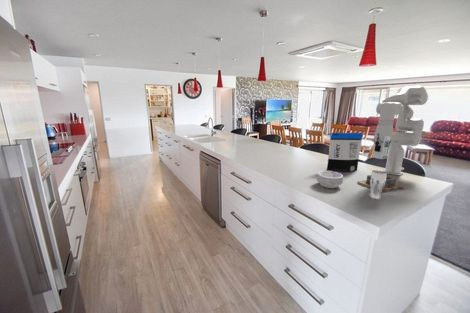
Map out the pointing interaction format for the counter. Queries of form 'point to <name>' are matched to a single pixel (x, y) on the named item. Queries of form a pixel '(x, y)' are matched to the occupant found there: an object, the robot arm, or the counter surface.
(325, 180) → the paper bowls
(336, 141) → the protein powder
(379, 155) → the syrup box
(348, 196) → the counter surface
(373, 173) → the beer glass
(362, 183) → the holder
